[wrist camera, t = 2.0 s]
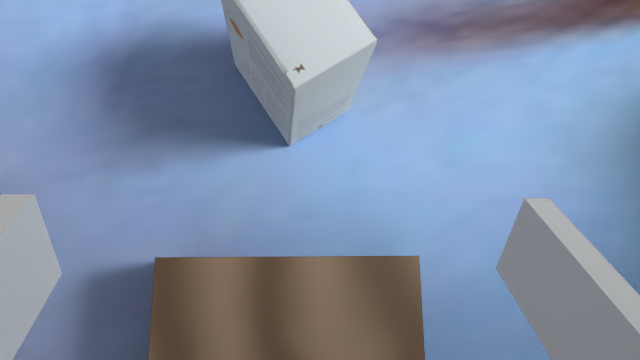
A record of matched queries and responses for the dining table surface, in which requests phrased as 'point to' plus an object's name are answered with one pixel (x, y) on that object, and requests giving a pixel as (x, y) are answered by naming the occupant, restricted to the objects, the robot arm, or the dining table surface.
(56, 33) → the dining table surface
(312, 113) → the small box
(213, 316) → the walnut block
